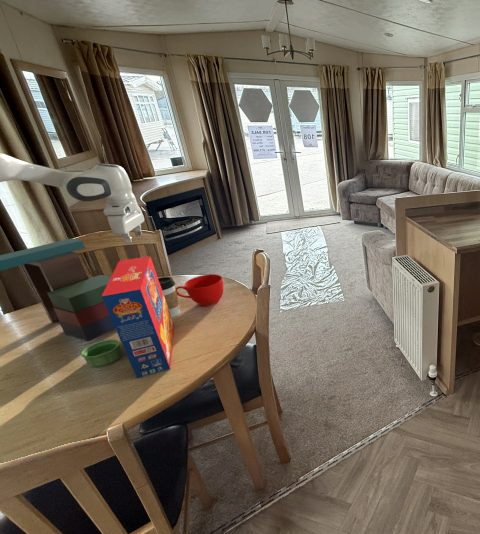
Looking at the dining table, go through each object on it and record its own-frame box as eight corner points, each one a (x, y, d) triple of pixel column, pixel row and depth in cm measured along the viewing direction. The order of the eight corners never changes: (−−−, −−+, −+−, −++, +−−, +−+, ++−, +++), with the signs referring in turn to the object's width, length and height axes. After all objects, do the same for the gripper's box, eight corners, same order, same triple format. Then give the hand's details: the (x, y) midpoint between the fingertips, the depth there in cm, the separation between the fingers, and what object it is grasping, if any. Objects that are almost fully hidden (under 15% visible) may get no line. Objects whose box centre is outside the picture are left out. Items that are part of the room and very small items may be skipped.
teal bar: (-12, 268, 107) (-17, 259, 106) (74, 245, 126) (71, 238, 125) (-1, 270, 105) (-6, 262, 104) (85, 247, 125) (82, 240, 123)
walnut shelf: (51, 322, 125) (17, 257, 115) (83, 309, 134) (55, 248, 123) (72, 328, 122) (39, 262, 112) (104, 314, 131) (77, 252, 120)
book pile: (65, 334, 119) (44, 293, 112) (116, 312, 133) (101, 274, 126) (87, 341, 116) (67, 299, 109) (138, 317, 130) (123, 279, 123)
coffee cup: (174, 320, 129) (162, 285, 123) (152, 320, 128) (139, 285, 122) (189, 309, 136) (178, 275, 130) (167, 308, 136) (156, 275, 130)
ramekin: (101, 370, 103) (96, 358, 101) (78, 365, 105) (72, 354, 103) (131, 352, 111) (127, 341, 109) (109, 348, 113) (104, 337, 111)
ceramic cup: (184, 299, 143) (177, 278, 139) (229, 292, 149) (224, 272, 145) (175, 314, 132) (168, 292, 128) (225, 306, 139) (219, 285, 135)
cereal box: (170, 369, 104) (140, 289, 93) (136, 378, 100) (101, 296, 89) (174, 325, 126) (150, 256, 114) (146, 331, 122) (119, 260, 110)
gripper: (124, 200, 142) (135, 231, 148) (100, 212, 125) (113, 247, 130) (143, 199, 144) (152, 230, 150) (122, 211, 127) (133, 245, 132)
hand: (134, 238), depth 140 cm, fingers open, 8 cm apart
